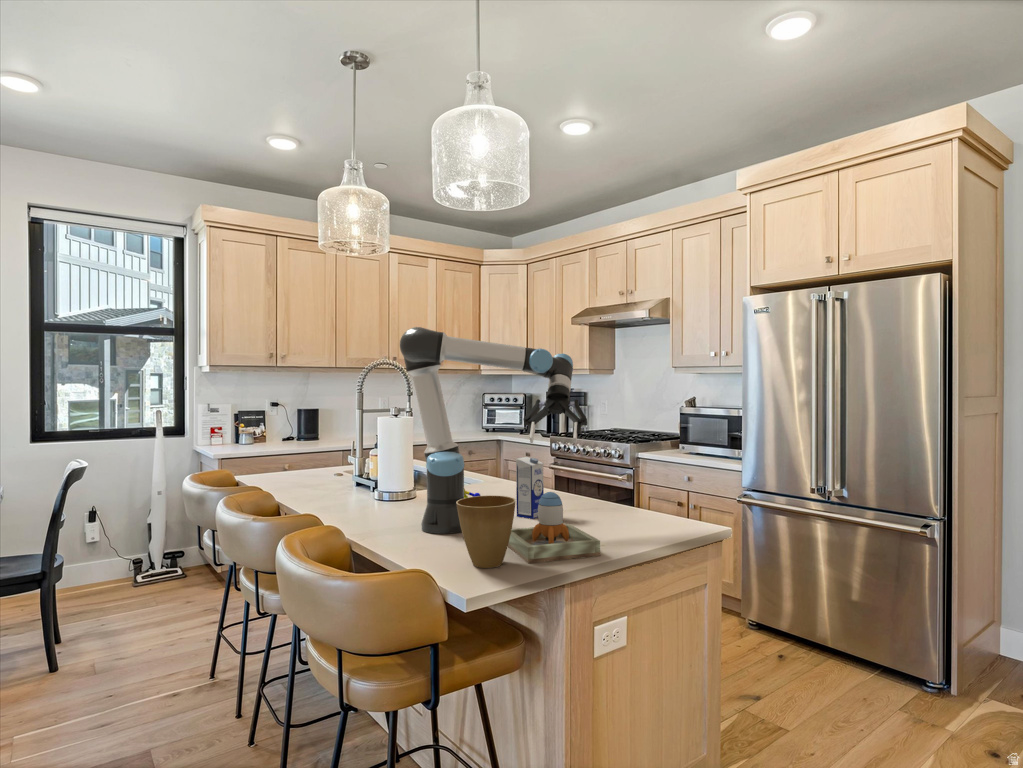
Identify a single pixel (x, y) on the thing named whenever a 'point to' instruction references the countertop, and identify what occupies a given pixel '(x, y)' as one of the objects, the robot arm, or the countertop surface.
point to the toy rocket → (550, 518)
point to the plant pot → (486, 527)
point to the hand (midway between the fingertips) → (552, 440)
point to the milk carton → (528, 486)
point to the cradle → (553, 545)
